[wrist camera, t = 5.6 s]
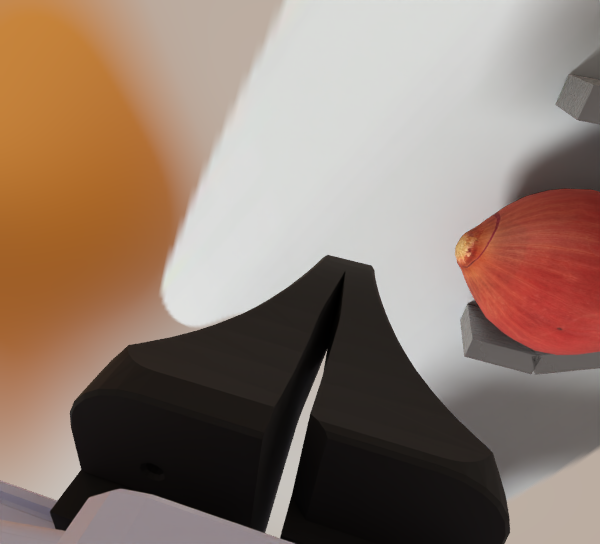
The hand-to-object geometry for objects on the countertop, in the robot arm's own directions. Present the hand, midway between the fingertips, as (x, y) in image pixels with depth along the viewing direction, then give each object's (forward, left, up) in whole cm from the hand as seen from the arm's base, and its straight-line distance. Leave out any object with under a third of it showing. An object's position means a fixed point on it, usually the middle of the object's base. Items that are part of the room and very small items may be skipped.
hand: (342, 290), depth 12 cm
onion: (0, -3, -5) cm, 6 cm away
